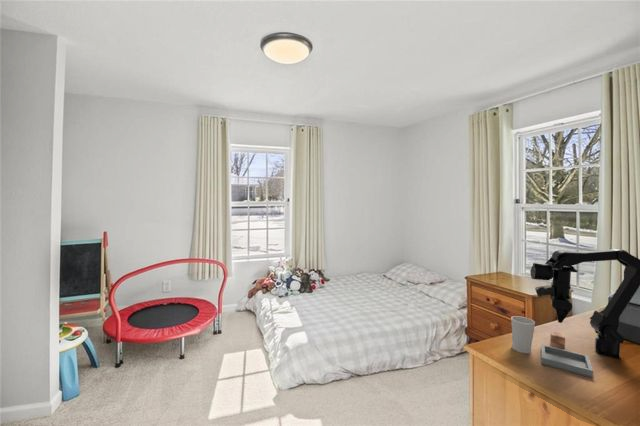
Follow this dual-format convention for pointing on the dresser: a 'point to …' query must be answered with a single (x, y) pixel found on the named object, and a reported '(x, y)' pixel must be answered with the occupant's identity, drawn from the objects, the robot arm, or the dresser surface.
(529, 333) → the cup
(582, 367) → the tray
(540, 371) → the dresser surface
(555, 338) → the block
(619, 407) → the dresser surface
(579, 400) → the dresser surface
